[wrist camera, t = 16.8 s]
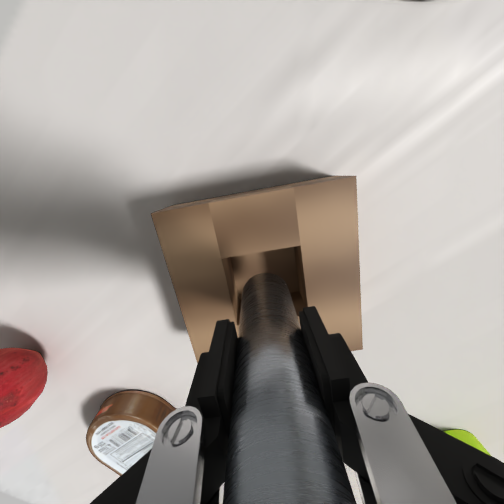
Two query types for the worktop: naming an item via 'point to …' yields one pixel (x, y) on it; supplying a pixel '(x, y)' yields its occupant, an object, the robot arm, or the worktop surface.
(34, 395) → the onion
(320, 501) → the metal rod
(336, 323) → the rod stand
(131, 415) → the tin
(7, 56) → the worktop surface
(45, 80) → the worktop surface
